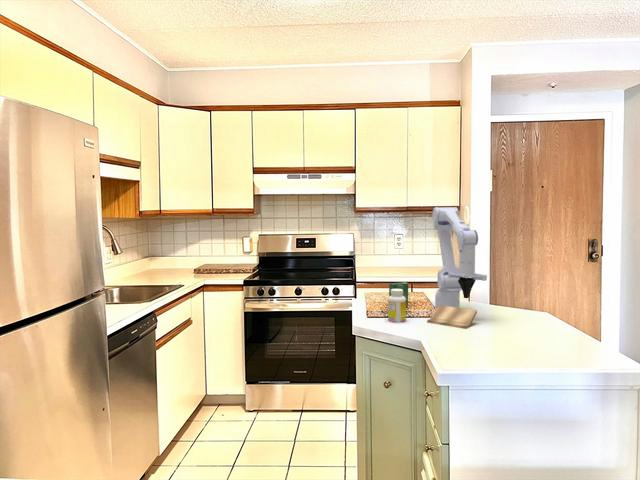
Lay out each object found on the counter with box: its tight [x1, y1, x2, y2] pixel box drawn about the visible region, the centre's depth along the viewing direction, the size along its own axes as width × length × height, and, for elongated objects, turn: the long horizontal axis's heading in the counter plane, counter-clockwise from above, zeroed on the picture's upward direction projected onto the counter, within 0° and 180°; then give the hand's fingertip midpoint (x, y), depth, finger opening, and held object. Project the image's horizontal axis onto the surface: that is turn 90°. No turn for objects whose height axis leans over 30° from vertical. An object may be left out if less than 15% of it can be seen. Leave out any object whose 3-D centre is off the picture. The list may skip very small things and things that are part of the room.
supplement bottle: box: [387, 289, 407, 324], centre depth 182 cm, size 7×7×13 cm
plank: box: [429, 305, 478, 328], centre depth 179 cm, size 15×8×1 cm
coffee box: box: [388, 282, 409, 309], centre depth 195 cm, size 8×3×13 cm, turn 117°
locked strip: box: [426, 318, 470, 330], centre depth 175 cm, size 15×2×1 cm, turn 51°
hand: (466, 297), depth 183 cm, fingers closed
